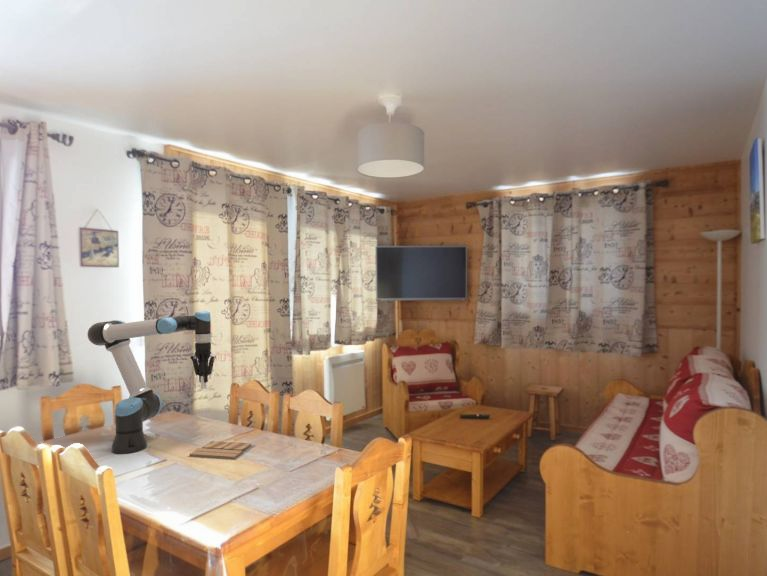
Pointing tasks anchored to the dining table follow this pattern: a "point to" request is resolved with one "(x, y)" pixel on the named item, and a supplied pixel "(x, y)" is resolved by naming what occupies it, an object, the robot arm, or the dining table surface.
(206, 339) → the robot arm
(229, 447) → the plank
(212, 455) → the underlay
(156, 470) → the dining table surface
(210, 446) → the plank
